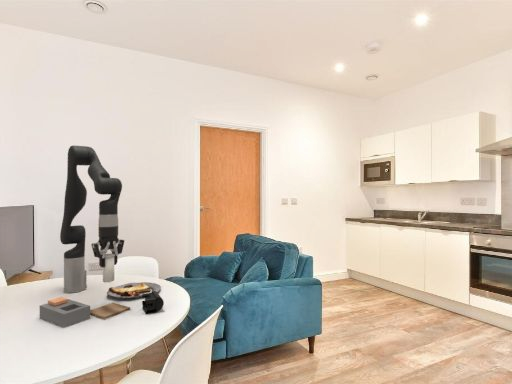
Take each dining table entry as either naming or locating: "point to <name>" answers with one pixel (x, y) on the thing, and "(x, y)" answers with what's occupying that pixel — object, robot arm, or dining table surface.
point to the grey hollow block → (65, 313)
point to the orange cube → (58, 301)
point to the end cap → (152, 302)
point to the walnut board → (108, 310)
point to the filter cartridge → (108, 268)
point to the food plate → (133, 290)
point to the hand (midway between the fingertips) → (108, 265)
